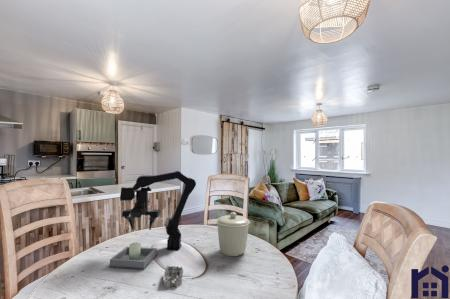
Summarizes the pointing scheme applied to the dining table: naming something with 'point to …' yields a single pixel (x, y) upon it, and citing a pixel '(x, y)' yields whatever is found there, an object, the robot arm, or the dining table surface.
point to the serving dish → (123, 260)
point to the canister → (232, 234)
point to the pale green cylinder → (134, 251)
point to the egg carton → (173, 276)
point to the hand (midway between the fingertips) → (141, 229)
